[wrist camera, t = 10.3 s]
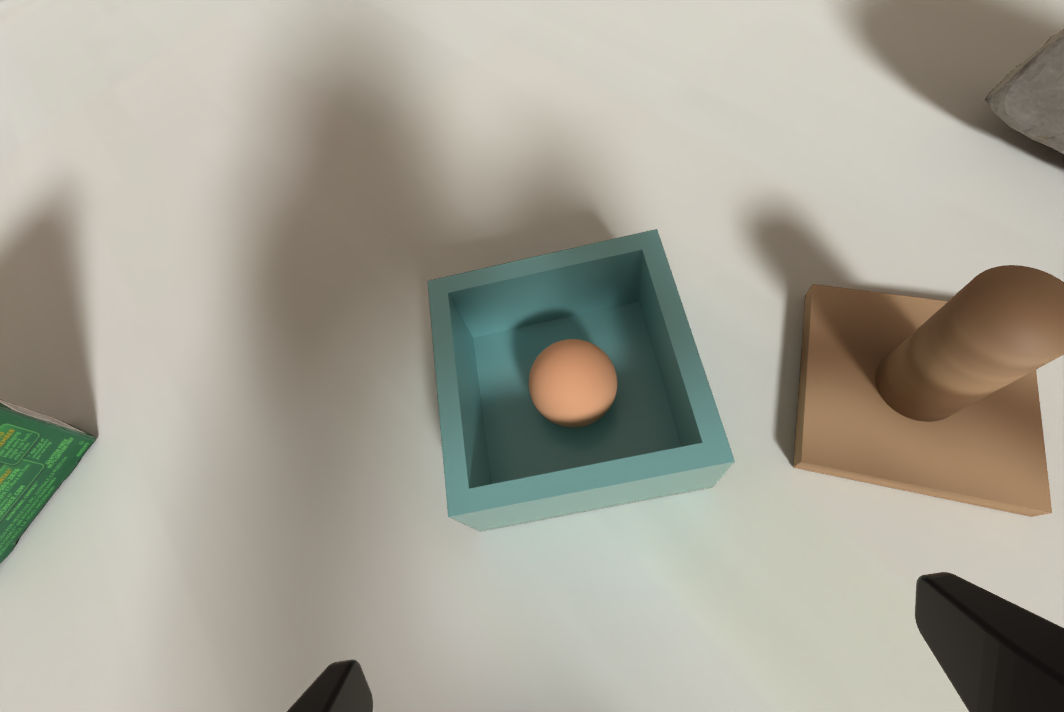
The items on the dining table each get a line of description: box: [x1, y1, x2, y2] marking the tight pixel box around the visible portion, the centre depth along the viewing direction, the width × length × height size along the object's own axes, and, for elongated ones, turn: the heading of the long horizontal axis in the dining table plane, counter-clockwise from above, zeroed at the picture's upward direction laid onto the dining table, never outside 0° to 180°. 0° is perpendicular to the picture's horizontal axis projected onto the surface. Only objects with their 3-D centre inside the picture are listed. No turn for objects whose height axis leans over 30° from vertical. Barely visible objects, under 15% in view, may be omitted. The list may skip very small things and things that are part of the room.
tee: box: [793, 265, 1064, 517], centre depth 18 cm, size 8×8×7 cm
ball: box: [529, 339, 617, 428], centre depth 21 cm, size 4×4×4 cm
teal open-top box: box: [428, 229, 735, 532], centre depth 21 cm, size 10×10×4 cm
